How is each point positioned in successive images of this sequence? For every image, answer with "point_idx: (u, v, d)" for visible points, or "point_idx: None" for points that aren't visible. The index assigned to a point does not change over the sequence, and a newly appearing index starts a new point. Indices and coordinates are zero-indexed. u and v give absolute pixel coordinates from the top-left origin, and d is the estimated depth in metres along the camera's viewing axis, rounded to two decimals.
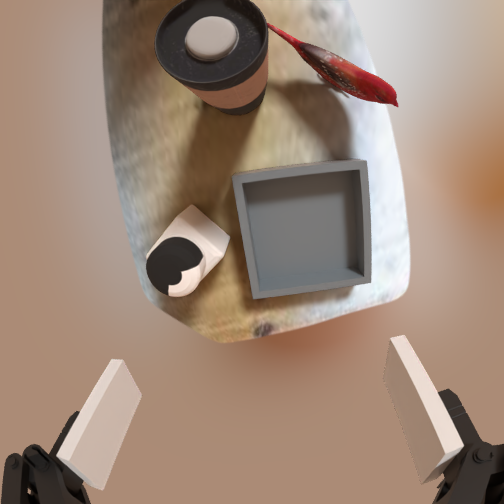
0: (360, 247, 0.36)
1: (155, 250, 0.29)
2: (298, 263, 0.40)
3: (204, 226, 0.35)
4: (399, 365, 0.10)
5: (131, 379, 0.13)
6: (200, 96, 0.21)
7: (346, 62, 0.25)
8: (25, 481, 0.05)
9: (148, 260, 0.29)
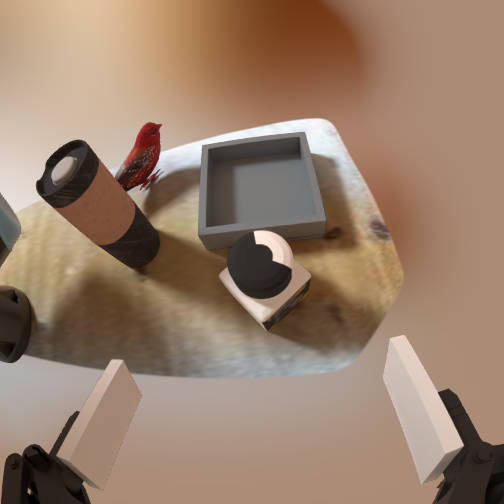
0: (276, 146, 0.43)
1: (231, 274, 0.26)
2: (297, 195, 0.41)
3: None
4: (399, 365, 0.10)
5: (131, 379, 0.13)
6: (105, 209, 0.28)
7: (128, 155, 0.41)
8: (25, 481, 0.05)
9: (242, 285, 0.25)
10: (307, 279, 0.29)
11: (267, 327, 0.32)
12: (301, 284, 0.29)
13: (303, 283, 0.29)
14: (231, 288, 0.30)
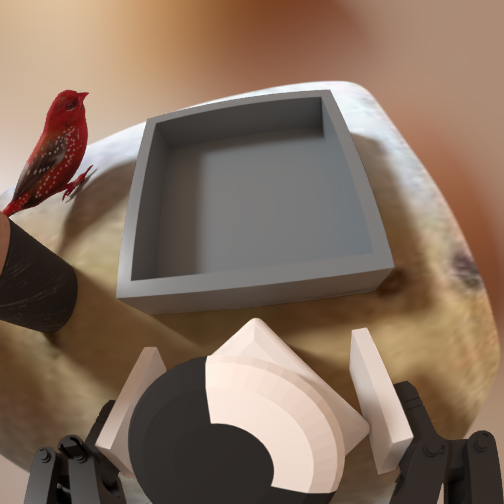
0: (279, 115, 0.22)
1: None
2: (321, 204, 0.20)
3: None
4: (359, 356, 0.11)
5: (163, 366, 0.14)
6: None
7: None
8: (55, 476, 0.06)
9: None
10: (361, 439, 0.09)
11: None
12: (346, 453, 0.09)
13: (351, 449, 0.09)
14: None
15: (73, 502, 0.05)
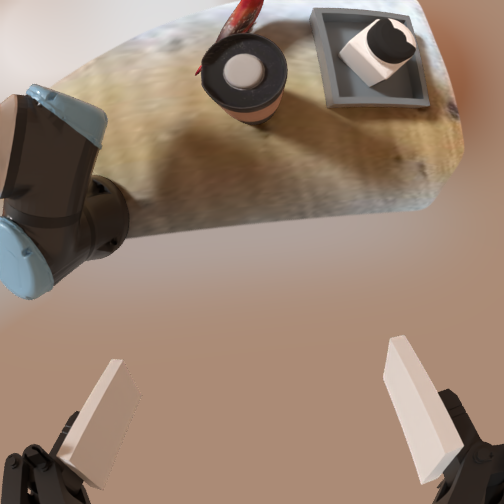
0: None
1: (379, 44, 0.24)
2: (399, 69, 0.34)
3: None
4: (399, 365, 0.10)
5: (131, 379, 0.13)
6: (279, 100, 0.27)
7: (233, 14, 0.28)
8: (25, 481, 0.05)
9: (388, 52, 0.25)
10: None
11: (377, 83, 0.33)
12: (408, 59, 0.28)
13: (409, 58, 0.28)
14: (361, 52, 0.29)
15: None
